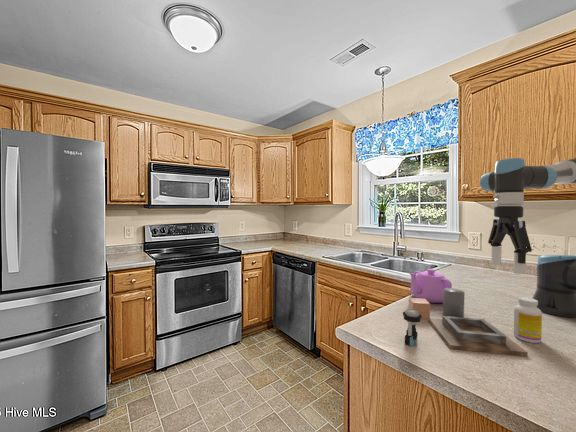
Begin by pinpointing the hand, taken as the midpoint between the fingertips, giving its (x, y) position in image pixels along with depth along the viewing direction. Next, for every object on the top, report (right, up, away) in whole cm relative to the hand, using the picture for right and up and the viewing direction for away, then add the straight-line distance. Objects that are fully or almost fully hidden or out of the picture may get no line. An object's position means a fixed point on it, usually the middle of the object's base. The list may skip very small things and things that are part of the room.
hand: (506, 268), depth 89 cm
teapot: (-9, -21, +34) cm, 41 cm away
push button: (-35, -22, -6) cm, 42 cm away
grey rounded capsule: (-9, -21, +14) cm, 27 cm away
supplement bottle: (+4, -22, -4) cm, 23 cm away
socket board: (-14, -22, -2) cm, 26 cm away
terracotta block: (-22, -21, +15) cm, 34 cm away
